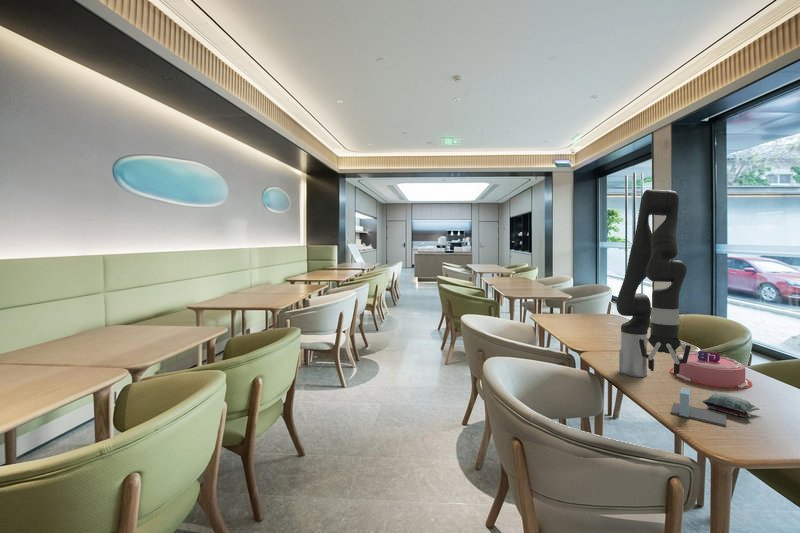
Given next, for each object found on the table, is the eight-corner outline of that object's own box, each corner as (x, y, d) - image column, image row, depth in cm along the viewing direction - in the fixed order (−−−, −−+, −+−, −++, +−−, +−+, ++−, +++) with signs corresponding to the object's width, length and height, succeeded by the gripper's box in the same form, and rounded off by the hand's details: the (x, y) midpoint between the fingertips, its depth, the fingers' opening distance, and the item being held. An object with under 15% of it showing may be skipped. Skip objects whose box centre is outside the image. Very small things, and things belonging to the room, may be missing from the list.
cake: (741, 373, 148) (742, 348, 148) (762, 395, 127) (763, 365, 127) (666, 364, 161) (666, 340, 161) (673, 382, 140) (674, 355, 140)
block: (681, 408, 116) (679, 415, 112) (681, 387, 116) (679, 392, 111) (689, 410, 115) (688, 417, 110) (690, 388, 114) (689, 394, 110)
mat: (670, 413, 114) (670, 411, 114) (673, 404, 121) (673, 402, 121) (726, 426, 105) (726, 424, 105) (726, 415, 112) (726, 413, 112)
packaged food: (712, 401, 122) (712, 387, 122) (760, 415, 112) (760, 399, 112) (701, 408, 118) (701, 393, 118) (750, 423, 108) (750, 406, 107)
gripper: (636, 320, 119) (635, 370, 120) (692, 326, 110) (691, 381, 111) (640, 317, 125) (639, 365, 126) (693, 322, 115) (692, 374, 116)
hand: (663, 372), depth 118 cm, fingers open, 5 cm apart
